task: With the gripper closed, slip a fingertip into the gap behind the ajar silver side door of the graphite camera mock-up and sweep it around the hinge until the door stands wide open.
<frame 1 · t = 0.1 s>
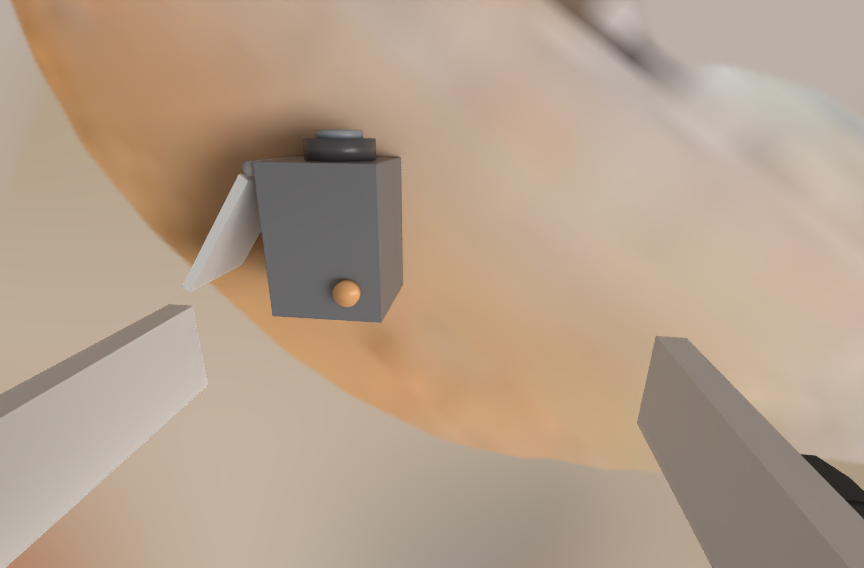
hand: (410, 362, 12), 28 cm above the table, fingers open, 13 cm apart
camera body: (355, 222, 40), on the table
side door: (241, 216, 37), point 4 cm above the table, hinge at 35.0°
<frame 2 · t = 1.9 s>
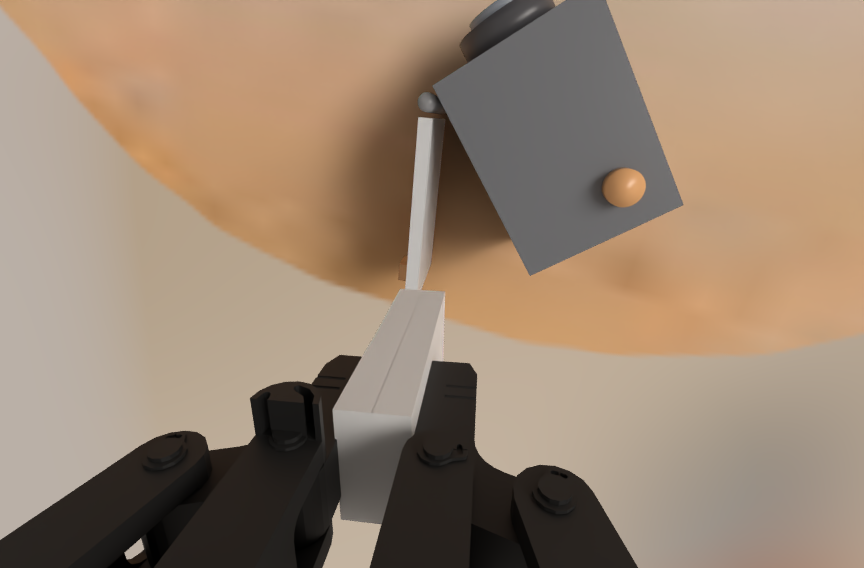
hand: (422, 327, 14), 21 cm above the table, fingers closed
camera body: (539, 139, 31), on the table
side door: (420, 194, 29), point 4 cm above the table, hinge at 35.0°
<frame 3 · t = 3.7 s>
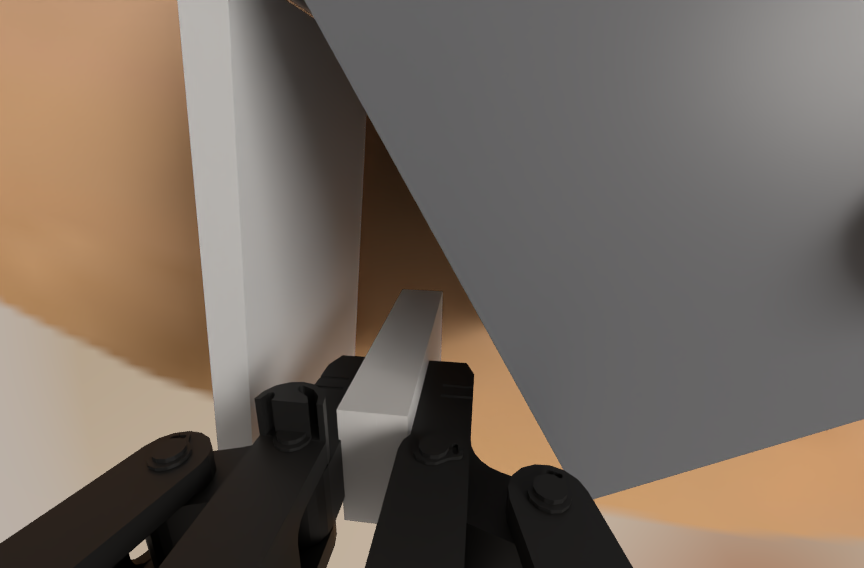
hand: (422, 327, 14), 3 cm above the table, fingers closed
camera body: (582, 103, 14), on the table
side door: (295, 227, 12), point 4 cm above the table, hinge at 35.1°, touching gripper
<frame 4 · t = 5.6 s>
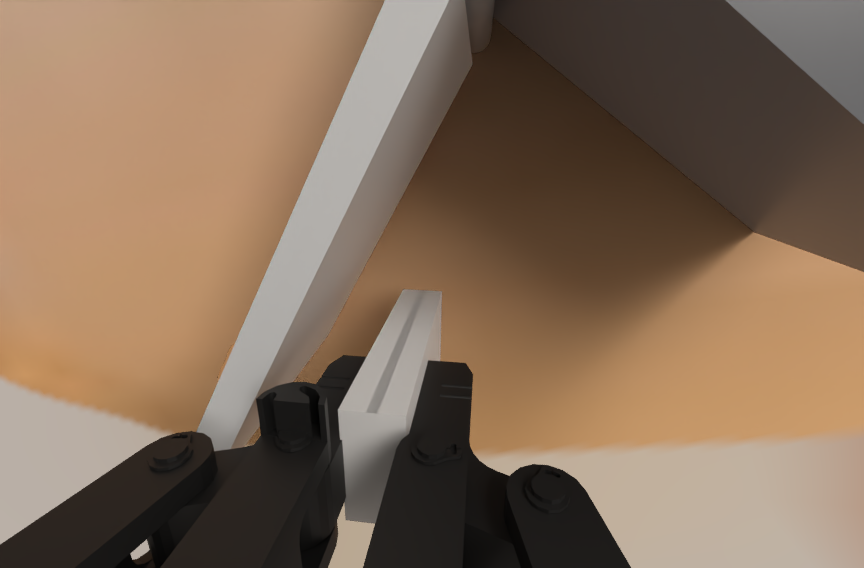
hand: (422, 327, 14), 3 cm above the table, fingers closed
side door: (346, 206, 11), point 4 cm above the table, hinge at 83.9°, touching gripper
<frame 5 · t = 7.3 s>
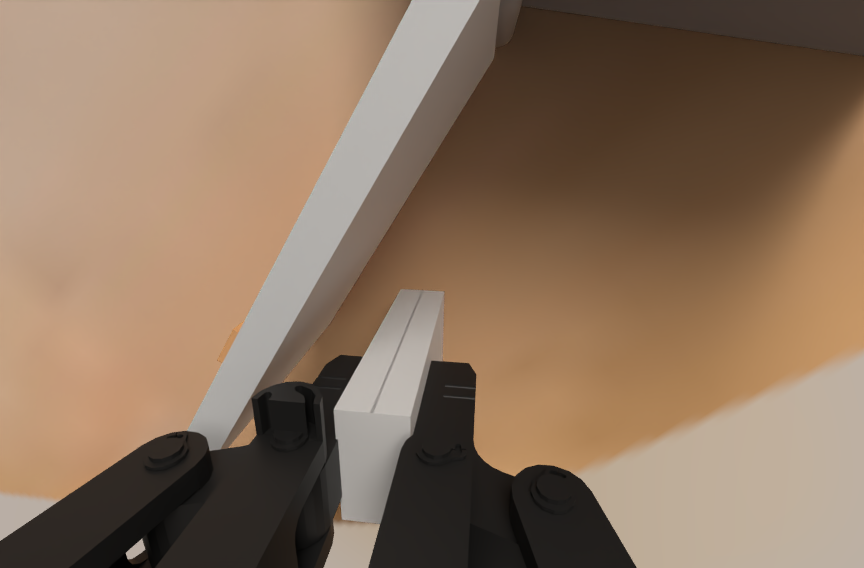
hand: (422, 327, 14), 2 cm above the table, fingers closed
side door: (359, 193, 11), point 4 cm above the table, hinge at 114.0°, touching gripper
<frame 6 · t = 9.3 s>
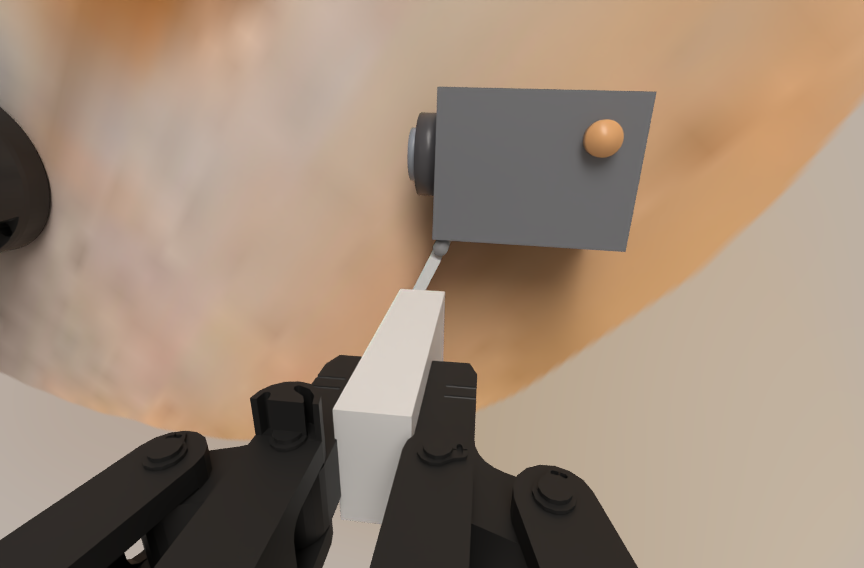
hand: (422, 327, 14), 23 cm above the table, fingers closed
camera body: (523, 162, 34), on the table
side door: (409, 294, 34), point 4 cm above the table, hinge at 114.1°
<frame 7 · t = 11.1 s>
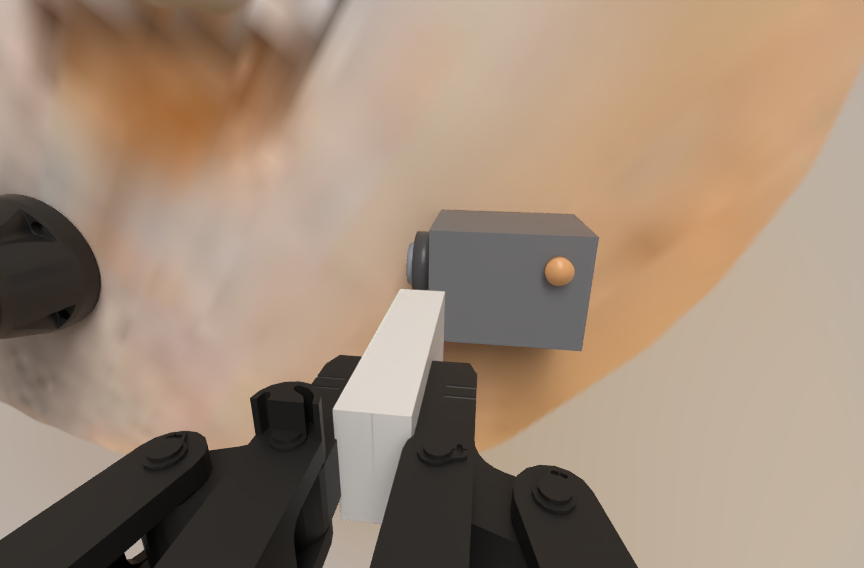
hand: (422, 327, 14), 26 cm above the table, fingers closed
camera body: (503, 259, 40), on the table
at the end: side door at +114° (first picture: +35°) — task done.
